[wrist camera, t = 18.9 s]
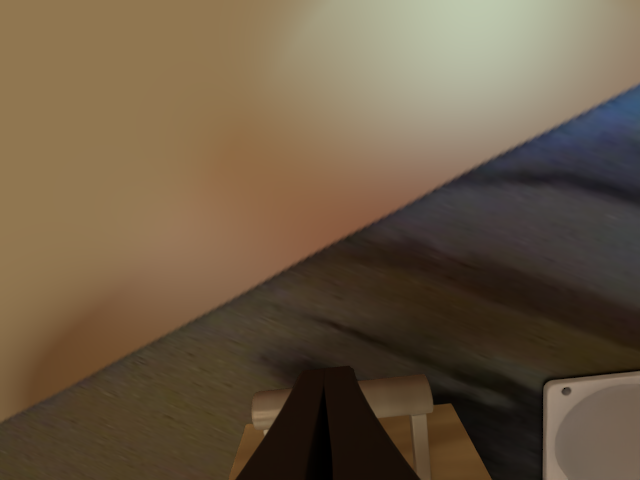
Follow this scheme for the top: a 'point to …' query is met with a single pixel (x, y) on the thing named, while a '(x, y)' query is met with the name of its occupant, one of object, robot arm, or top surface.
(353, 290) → the top surface
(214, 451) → the top surface
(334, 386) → the robot arm
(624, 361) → the top surface
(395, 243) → the top surface
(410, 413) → the drawer
